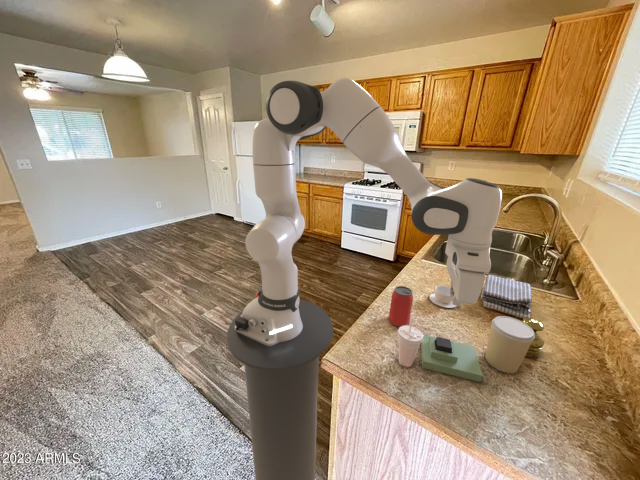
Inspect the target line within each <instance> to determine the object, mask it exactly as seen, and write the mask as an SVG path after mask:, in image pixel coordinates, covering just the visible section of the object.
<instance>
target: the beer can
mask: <svg viewBox="0 0 640 480" xmlns="http://www.w3.org/2000/svg"><path fill="white" fill-rule="evenodd" d="M413 302H414V295H413V290H412V289H411V288H410V287H407V286H403V285H398V286H396V287H394V289H393V291H392V293H391V300H390V307H389V314H388V321H389V323H390V324H391V325H393V326H395V327H398V328H400V327H401V326H404V325H410V320H411V313H412V307H413Z"/></svg>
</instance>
